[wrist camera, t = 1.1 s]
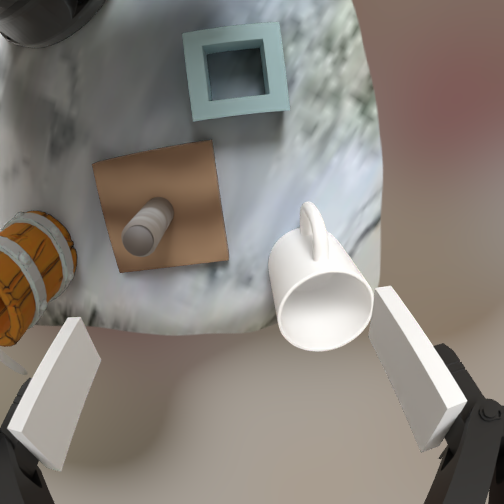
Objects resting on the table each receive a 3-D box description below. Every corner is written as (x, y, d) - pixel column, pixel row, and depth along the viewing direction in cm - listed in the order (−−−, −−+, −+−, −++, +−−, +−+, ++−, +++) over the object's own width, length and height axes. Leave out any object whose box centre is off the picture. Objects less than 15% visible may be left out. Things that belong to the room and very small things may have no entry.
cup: (271, 297, 37) (281, 358, 27) (258, 195, 32) (267, 231, 22) (341, 286, 36) (370, 342, 27) (339, 185, 31) (378, 217, 22)
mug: (97, 257, 34) (34, 340, 20) (34, 319, 37) (-17, 391, 23) (40, 187, 30) (-49, 238, 16) (-14, 263, 33) (-77, 322, 19)
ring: (188, 42, 25) (182, 33, 21) (273, 32, 25) (279, 21, 21) (198, 120, 28) (193, 121, 25) (283, 110, 28) (290, 110, 24)
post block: (97, 161, 29) (54, 181, 21) (212, 139, 29) (201, 149, 21) (124, 266, 34) (95, 312, 26) (229, 253, 34) (226, 300, 26)
